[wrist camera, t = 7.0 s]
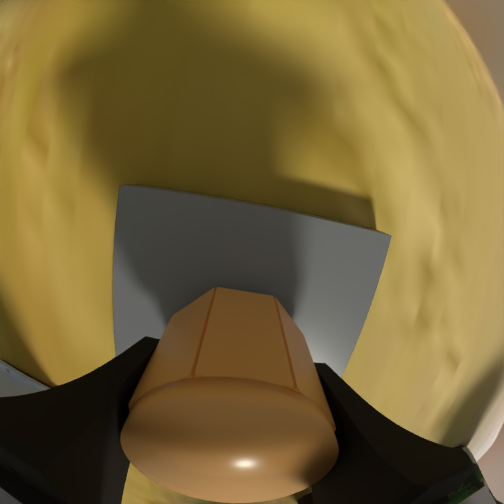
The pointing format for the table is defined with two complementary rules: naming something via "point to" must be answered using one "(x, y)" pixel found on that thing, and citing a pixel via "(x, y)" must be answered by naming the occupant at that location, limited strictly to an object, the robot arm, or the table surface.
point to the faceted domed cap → (231, 404)
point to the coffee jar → (469, 483)
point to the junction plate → (241, 265)
